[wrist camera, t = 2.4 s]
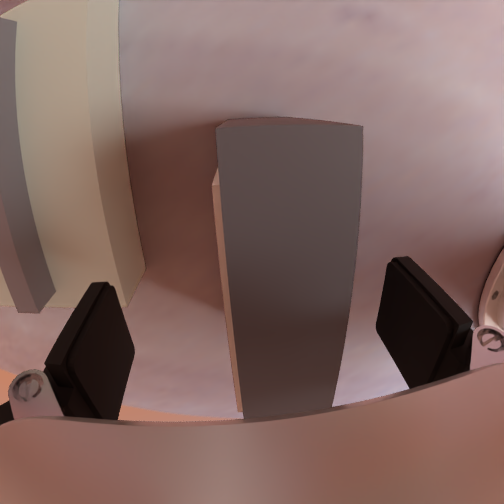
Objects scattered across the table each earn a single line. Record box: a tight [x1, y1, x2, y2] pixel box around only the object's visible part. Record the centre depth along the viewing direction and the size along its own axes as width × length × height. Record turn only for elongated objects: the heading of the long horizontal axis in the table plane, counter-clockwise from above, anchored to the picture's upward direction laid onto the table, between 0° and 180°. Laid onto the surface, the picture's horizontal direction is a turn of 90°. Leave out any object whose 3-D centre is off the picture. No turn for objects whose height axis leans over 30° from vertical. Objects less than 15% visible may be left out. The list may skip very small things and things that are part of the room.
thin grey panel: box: [212, 117, 363, 419], centre depth 13 cm, size 3×12×10 cm, turn 3°
